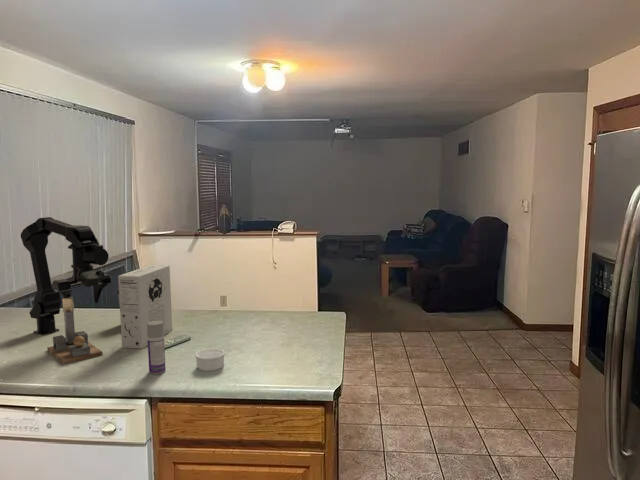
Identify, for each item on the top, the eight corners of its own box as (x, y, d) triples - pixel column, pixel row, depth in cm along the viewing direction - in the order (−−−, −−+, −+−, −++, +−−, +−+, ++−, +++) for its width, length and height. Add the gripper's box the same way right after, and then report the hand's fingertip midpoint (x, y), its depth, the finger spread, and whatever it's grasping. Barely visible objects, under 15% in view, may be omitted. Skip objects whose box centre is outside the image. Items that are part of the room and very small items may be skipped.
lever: (63, 345, 173) (60, 298, 171) (75, 342, 175) (71, 296, 173) (66, 347, 171) (63, 299, 168) (78, 345, 173) (75, 298, 171)
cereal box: (154, 329, 197) (151, 264, 193) (172, 330, 195) (169, 265, 192) (121, 347, 176) (117, 275, 172) (141, 349, 174) (138, 276, 171)
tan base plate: (47, 350, 173) (46, 330, 172) (84, 342, 181) (83, 323, 180) (63, 364, 160) (61, 342, 159) (102, 355, 168) (101, 334, 167)
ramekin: (226, 370, 155) (226, 356, 154) (196, 373, 153) (196, 359, 152) (223, 360, 163) (223, 346, 163) (194, 363, 161) (194, 349, 160)
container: (151, 368, 156) (148, 320, 154) (167, 368, 156) (164, 320, 155) (147, 374, 151) (144, 325, 150) (163, 374, 152) (161, 324, 150)
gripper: (64, 269, 168) (67, 315, 170) (118, 262, 182) (120, 304, 184) (50, 264, 175) (52, 309, 177) (103, 257, 189) (104, 299, 191)
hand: (83, 305), depth 182 cm, fingers open, 9 cm apart
